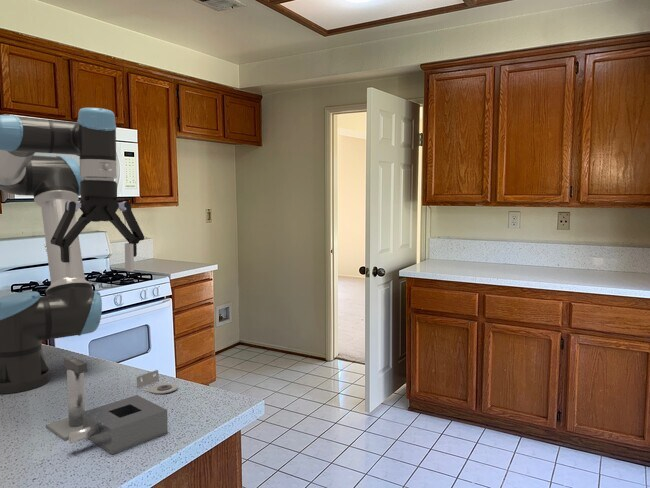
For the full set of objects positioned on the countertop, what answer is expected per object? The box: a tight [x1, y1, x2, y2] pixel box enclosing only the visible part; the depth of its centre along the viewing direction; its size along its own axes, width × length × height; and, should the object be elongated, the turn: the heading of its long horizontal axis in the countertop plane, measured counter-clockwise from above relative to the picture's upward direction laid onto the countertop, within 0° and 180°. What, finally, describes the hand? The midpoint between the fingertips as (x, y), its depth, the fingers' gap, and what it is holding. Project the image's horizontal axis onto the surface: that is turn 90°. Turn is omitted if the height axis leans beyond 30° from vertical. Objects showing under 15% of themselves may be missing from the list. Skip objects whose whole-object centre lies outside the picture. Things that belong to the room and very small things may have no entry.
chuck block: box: [68, 394, 169, 455], centre depth 103 cm, size 12×17×5 cm
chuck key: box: [62, 356, 88, 427], centre depth 107 cm, size 7×3×14 cm, turn 50°
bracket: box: [136, 369, 179, 395], centre depth 130 cm, size 7×10×4 cm, turn 57°
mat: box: [45, 417, 83, 441], centre depth 108 cm, size 9×9×1 cm
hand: (101, 274), depth 115 cm, fingers open, 13 cm apart
